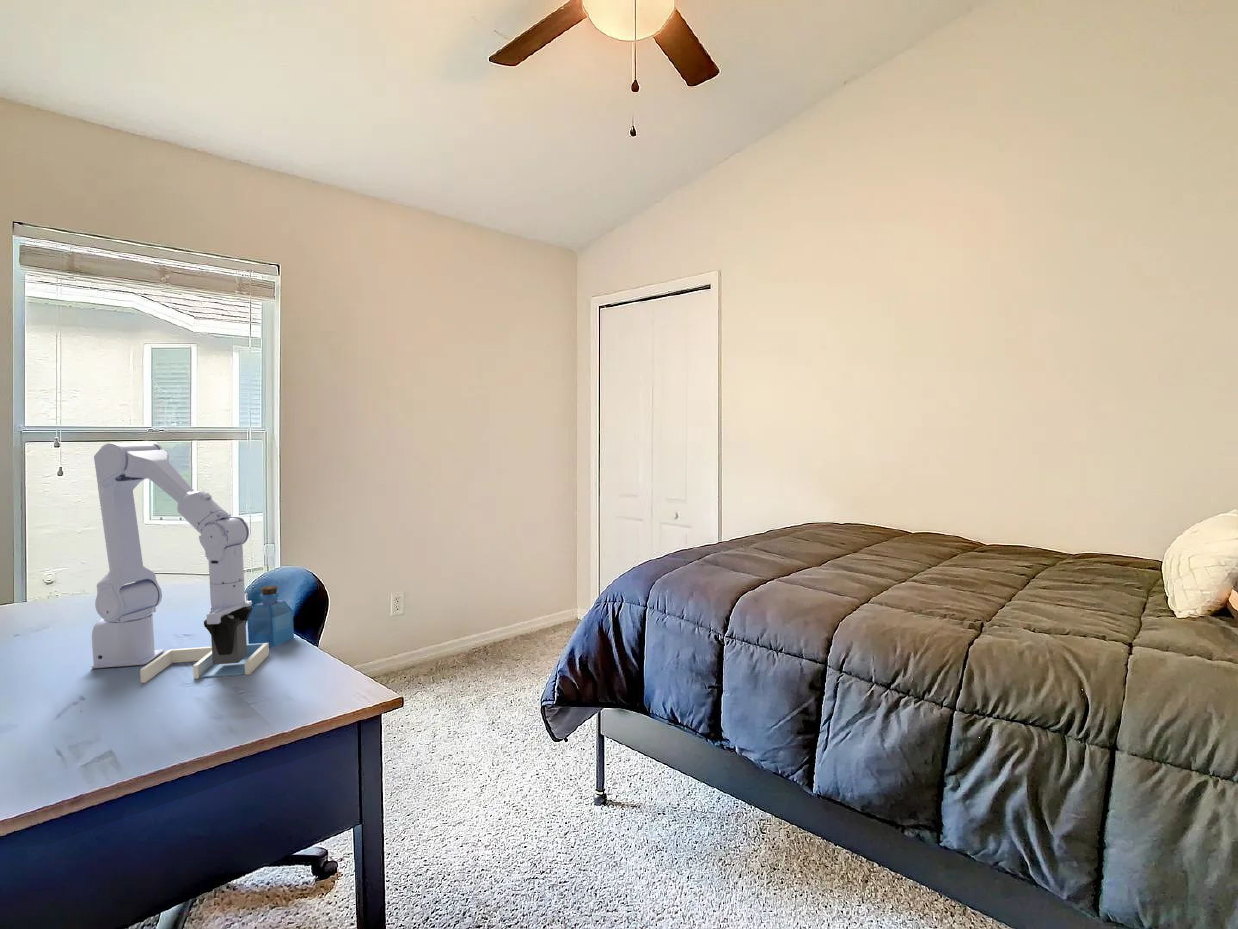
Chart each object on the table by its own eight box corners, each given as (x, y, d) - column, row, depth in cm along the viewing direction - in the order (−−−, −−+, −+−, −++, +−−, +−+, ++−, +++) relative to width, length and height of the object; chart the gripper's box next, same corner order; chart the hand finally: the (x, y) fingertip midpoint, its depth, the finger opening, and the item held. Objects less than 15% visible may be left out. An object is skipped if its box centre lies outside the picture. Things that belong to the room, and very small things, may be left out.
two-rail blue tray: (140, 682, 119) (140, 669, 119) (169, 661, 130) (168, 649, 129) (249, 674, 123) (249, 661, 122) (269, 654, 133) (268, 642, 133)
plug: (212, 664, 123) (210, 621, 123) (222, 656, 128) (220, 614, 127) (238, 663, 124) (236, 619, 124) (247, 654, 129) (245, 612, 128)
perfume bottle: (273, 647, 138) (271, 591, 137) (248, 645, 139) (245, 590, 138) (293, 637, 144) (291, 584, 143) (269, 636, 145) (267, 583, 144)
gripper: (235, 588, 119) (238, 661, 119) (262, 571, 133) (265, 636, 134) (192, 591, 117) (196, 664, 118) (224, 573, 131) (228, 638, 132)
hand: (230, 649), depth 126 cm, fingers closed on plug, 4 cm apart
